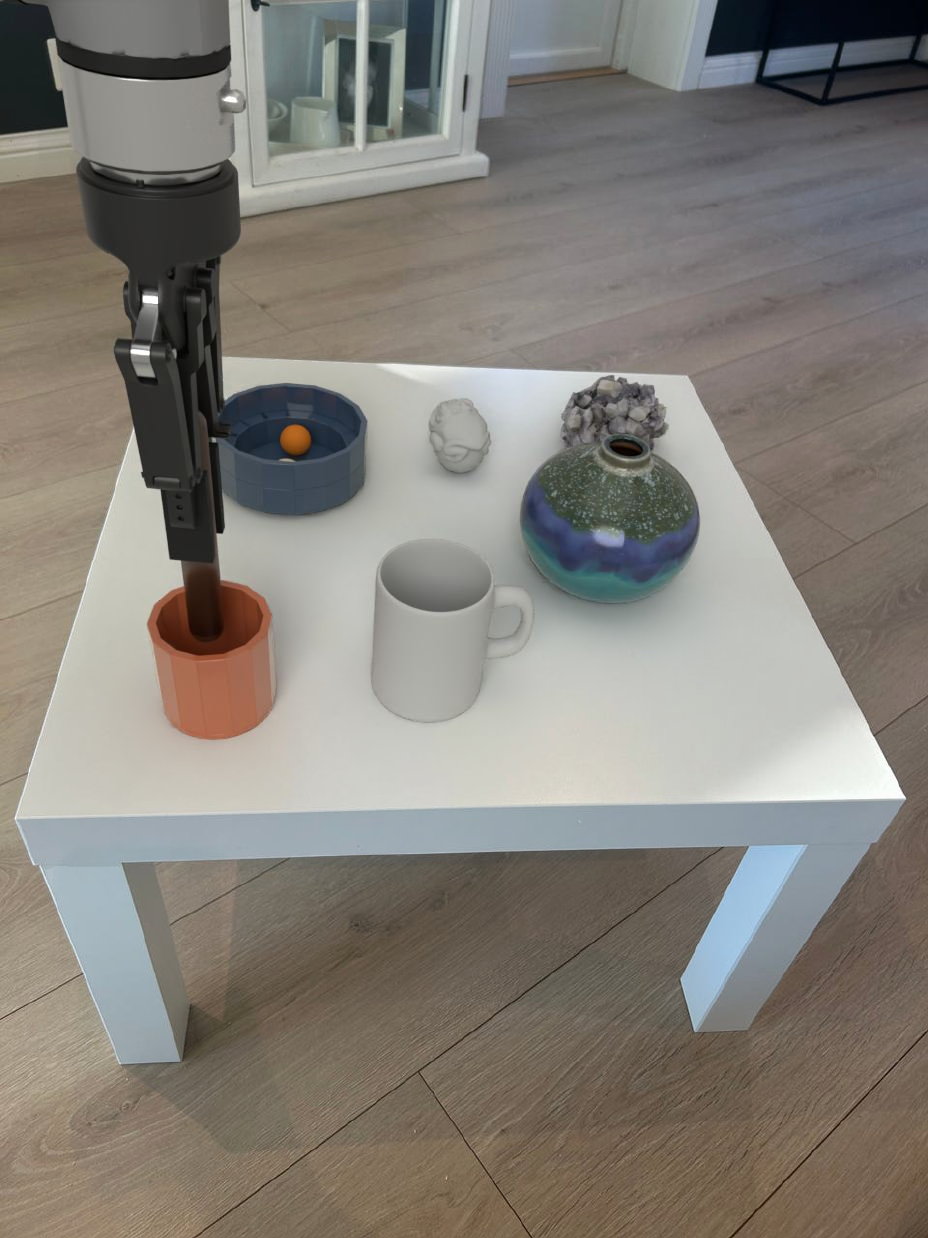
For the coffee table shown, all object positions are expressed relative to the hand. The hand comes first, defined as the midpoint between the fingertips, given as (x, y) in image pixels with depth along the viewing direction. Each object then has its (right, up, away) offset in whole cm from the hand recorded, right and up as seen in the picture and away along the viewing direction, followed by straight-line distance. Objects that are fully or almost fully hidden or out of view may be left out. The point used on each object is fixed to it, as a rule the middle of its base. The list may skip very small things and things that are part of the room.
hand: (197, 542), depth 62 cm
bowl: (0, +9, +32) cm, 33 cm away
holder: (-1, -11, +10) cm, 15 cm away
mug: (+16, -10, +13) cm, 23 cm away
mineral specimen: (+32, +13, +41) cm, 54 cm away
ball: (+1, +13, +33) cm, 35 cm away
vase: (+29, -1, +25) cm, 38 cm away
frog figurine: (+16, +10, +36) cm, 41 cm away
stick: (-1, -6, +6) cm, 8 cm away
